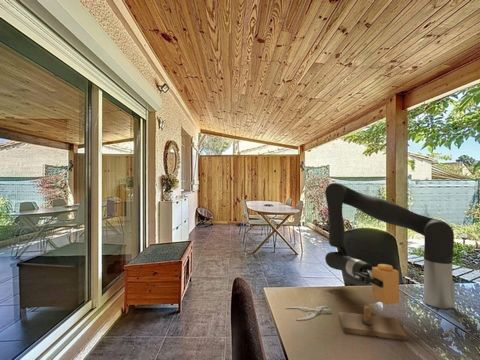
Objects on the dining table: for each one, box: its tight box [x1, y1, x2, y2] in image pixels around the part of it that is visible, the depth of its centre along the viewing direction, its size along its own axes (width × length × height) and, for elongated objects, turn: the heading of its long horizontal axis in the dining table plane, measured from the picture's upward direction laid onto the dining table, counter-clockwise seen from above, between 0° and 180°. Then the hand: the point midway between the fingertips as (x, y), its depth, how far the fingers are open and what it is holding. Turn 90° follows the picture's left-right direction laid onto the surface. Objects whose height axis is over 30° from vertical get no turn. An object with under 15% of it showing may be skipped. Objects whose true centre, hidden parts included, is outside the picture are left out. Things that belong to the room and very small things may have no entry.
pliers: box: [286, 305, 332, 322], centre depth 99 cm, size 10×2×15 cm
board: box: [338, 305, 408, 341], centre depth 89 cm, size 18×11×6 cm, turn 77°
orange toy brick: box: [371, 263, 400, 305], centre depth 98 cm, size 6×6×12 cm
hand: (390, 283), depth 95 cm, fingers closed on orange toy brick, 6 cm apart
